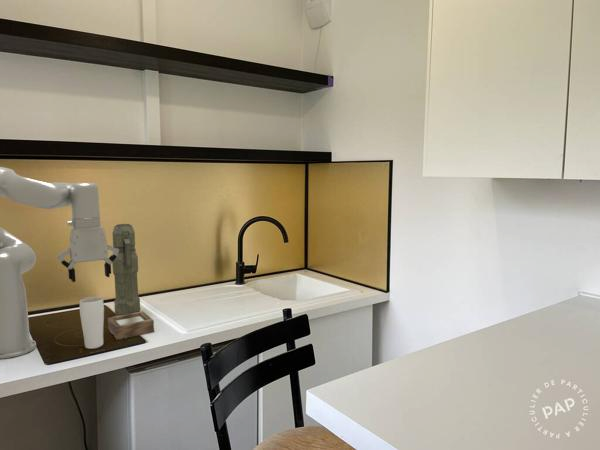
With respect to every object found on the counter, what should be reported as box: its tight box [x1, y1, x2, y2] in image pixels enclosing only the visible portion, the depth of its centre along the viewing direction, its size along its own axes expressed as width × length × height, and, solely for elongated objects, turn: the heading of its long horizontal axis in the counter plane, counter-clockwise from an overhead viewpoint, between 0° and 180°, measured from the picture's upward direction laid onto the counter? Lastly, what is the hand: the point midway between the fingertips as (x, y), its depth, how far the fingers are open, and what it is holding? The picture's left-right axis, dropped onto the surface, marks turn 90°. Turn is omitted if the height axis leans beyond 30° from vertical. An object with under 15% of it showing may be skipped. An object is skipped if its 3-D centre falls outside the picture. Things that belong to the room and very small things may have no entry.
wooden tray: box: [107, 310, 155, 341], centre depth 151 cm, size 12×12×4 cm
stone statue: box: [111, 223, 141, 316], centre depth 163 cm, size 9×12×35 cm
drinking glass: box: [79, 296, 105, 350], centre depth 137 cm, size 7×7×15 cm
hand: (90, 278), depth 136 cm, fingers open, 9 cm apart
